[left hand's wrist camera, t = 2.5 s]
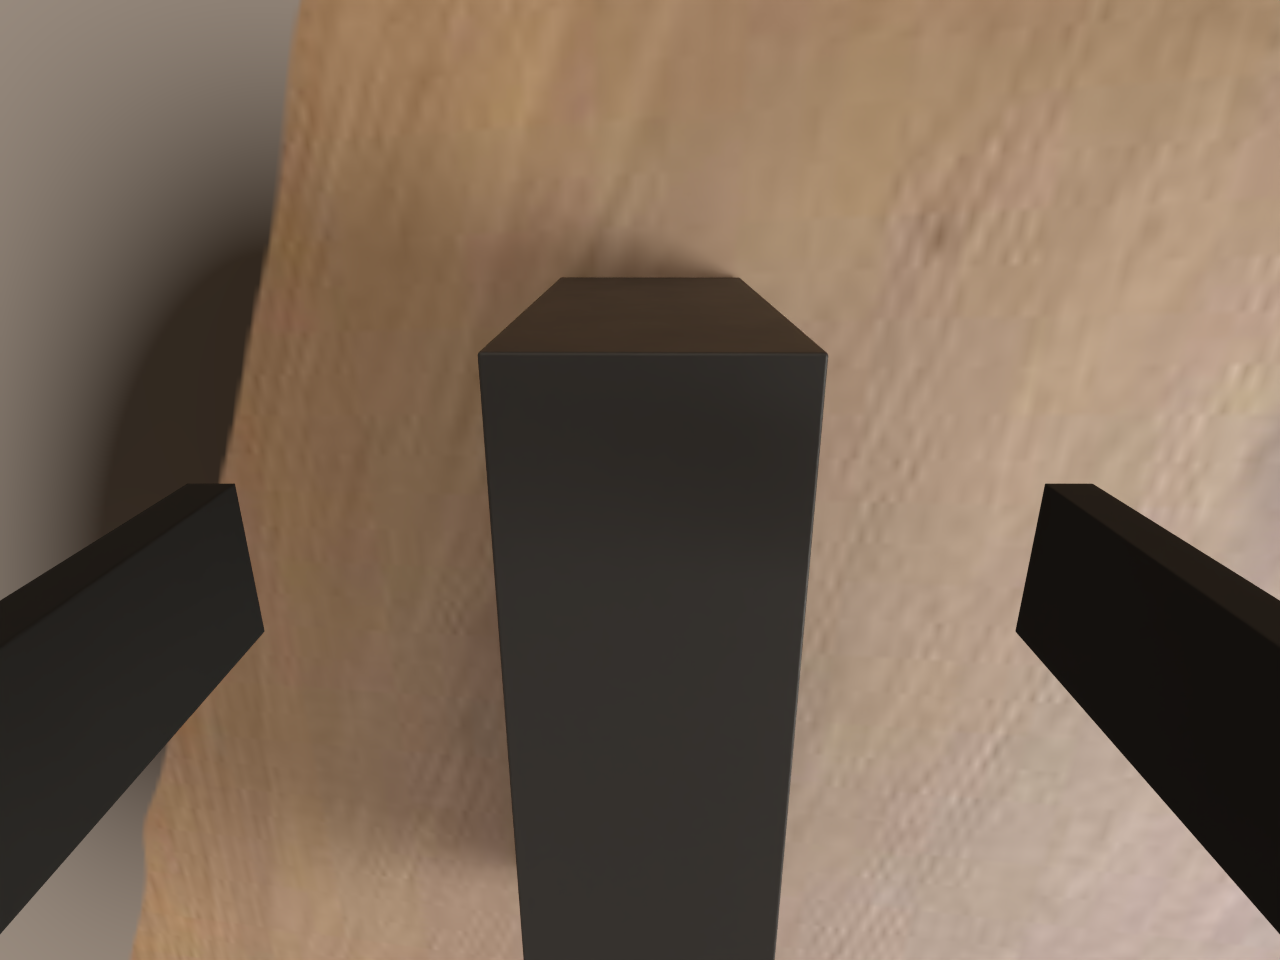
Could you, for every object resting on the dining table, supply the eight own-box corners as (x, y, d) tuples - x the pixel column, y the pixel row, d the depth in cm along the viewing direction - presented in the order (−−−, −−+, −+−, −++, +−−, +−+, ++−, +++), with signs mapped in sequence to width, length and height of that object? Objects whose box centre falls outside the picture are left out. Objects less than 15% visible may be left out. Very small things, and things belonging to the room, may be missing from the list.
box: (560, 277, 25) (476, 352, 13) (740, 277, 25) (829, 352, 13) (581, 876, 34) (545, 1250, 22) (712, 877, 34) (749, 1253, 22)
